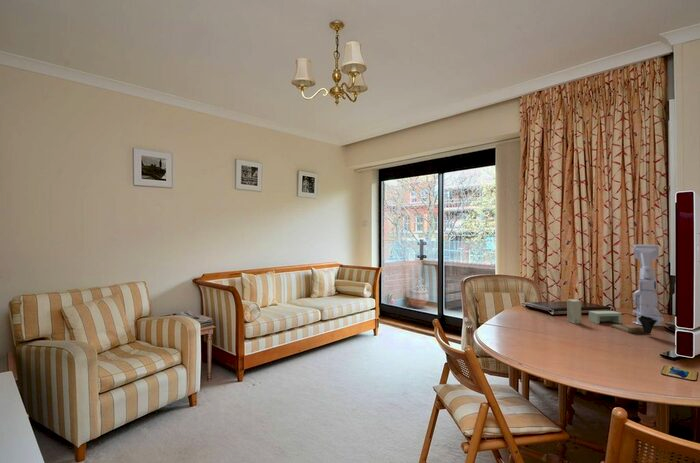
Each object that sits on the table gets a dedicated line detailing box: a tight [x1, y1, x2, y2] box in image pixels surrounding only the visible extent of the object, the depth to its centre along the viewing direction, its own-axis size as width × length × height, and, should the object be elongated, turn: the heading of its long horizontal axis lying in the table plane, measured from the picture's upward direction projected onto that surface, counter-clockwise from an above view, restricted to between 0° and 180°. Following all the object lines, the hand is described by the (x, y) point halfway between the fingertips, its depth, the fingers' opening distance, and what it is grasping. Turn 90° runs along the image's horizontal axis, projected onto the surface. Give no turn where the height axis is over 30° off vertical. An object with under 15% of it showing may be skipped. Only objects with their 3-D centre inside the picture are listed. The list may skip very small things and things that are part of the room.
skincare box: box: [566, 298, 582, 325], centre depth 195 cm, size 6×4×12 cm
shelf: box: [588, 310, 622, 325], centre depth 196 cm, size 14×6×6 cm, turn 94°
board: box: [610, 323, 645, 335], centre depth 180 cm, size 9×12×3 cm
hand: (647, 333), depth 170 cm, fingers closed
